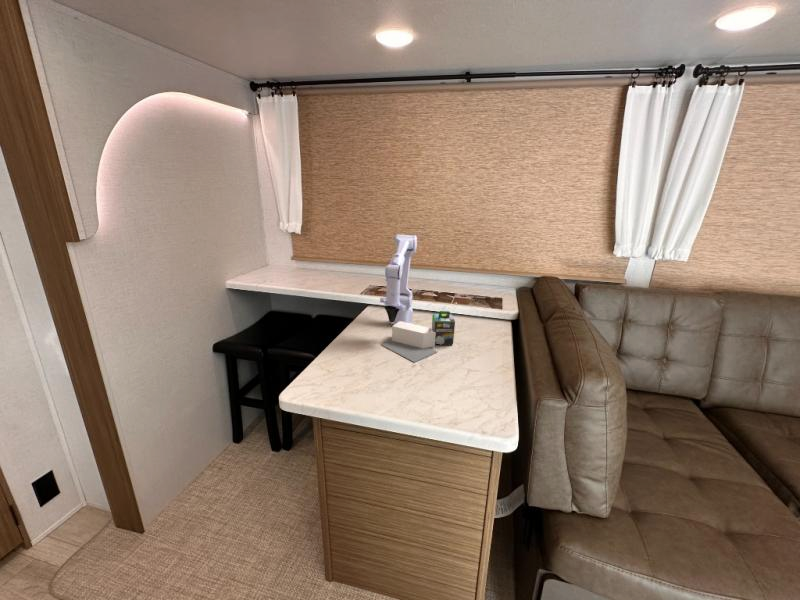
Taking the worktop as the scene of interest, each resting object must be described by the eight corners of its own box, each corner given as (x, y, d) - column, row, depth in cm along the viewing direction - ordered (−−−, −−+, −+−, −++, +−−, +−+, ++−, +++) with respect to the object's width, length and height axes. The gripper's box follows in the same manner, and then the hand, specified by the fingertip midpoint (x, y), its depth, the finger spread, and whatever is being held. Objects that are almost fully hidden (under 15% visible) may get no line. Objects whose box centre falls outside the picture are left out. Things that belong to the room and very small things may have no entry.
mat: (404, 336, 162) (404, 336, 162) (437, 352, 148) (437, 351, 148) (381, 345, 153) (381, 344, 152) (414, 362, 139) (414, 362, 139)
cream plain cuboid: (391, 340, 156) (431, 350, 149) (391, 326, 154) (432, 335, 146) (398, 335, 162) (437, 344, 155) (399, 320, 160) (438, 329, 152)
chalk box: (450, 336, 164) (453, 307, 159) (453, 345, 155) (456, 314, 151) (430, 336, 164) (432, 306, 159) (432, 345, 155) (435, 313, 150)
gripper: (375, 289, 153) (374, 318, 157) (397, 298, 143) (396, 329, 148) (387, 287, 158) (386, 315, 162) (410, 295, 148) (408, 325, 152)
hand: (392, 321), depth 155 cm, fingers closed
